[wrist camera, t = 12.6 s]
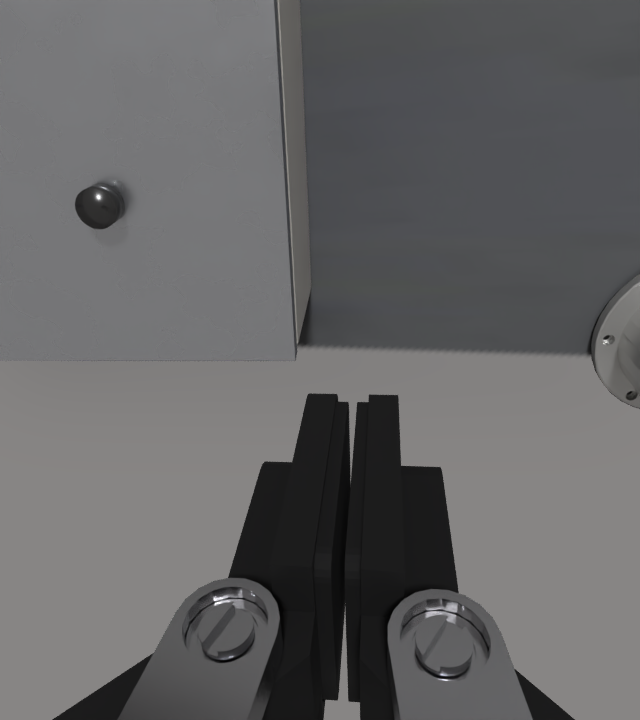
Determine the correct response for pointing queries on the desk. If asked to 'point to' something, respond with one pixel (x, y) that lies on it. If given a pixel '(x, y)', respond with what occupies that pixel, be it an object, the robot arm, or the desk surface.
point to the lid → (143, 182)
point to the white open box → (295, 152)
